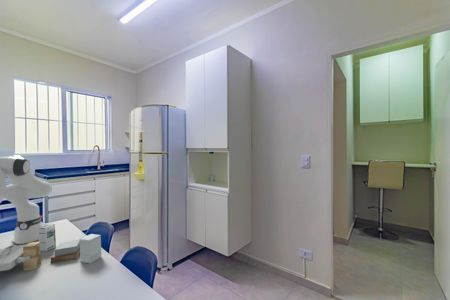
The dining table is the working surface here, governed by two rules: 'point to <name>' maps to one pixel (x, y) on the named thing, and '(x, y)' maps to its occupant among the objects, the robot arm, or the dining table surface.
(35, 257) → the oak block
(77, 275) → the dining table surface
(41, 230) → the syrup box
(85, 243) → the supplement box
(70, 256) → the tower base slab
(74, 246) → the tower top slab
